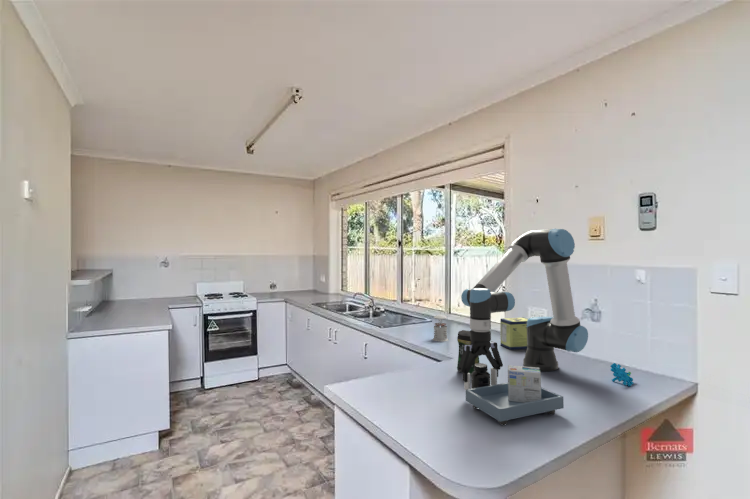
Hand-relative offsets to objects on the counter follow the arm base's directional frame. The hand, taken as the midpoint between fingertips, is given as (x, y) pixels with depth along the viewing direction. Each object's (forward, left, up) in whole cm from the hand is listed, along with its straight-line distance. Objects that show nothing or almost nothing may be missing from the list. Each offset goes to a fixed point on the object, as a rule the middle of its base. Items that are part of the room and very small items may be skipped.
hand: (480, 388), depth 145 cm
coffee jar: (-26, +13, -3) cm, 29 cm away
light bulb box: (+15, +7, 0) cm, 16 cm away
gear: (+11, +62, -4) cm, 63 cm away
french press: (-86, +35, -3) cm, 93 cm away
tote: (+15, +2, -3) cm, 15 cm away
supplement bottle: (0, 0, -3) cm, 3 cm away
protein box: (-53, +65, -4) cm, 84 cm away
